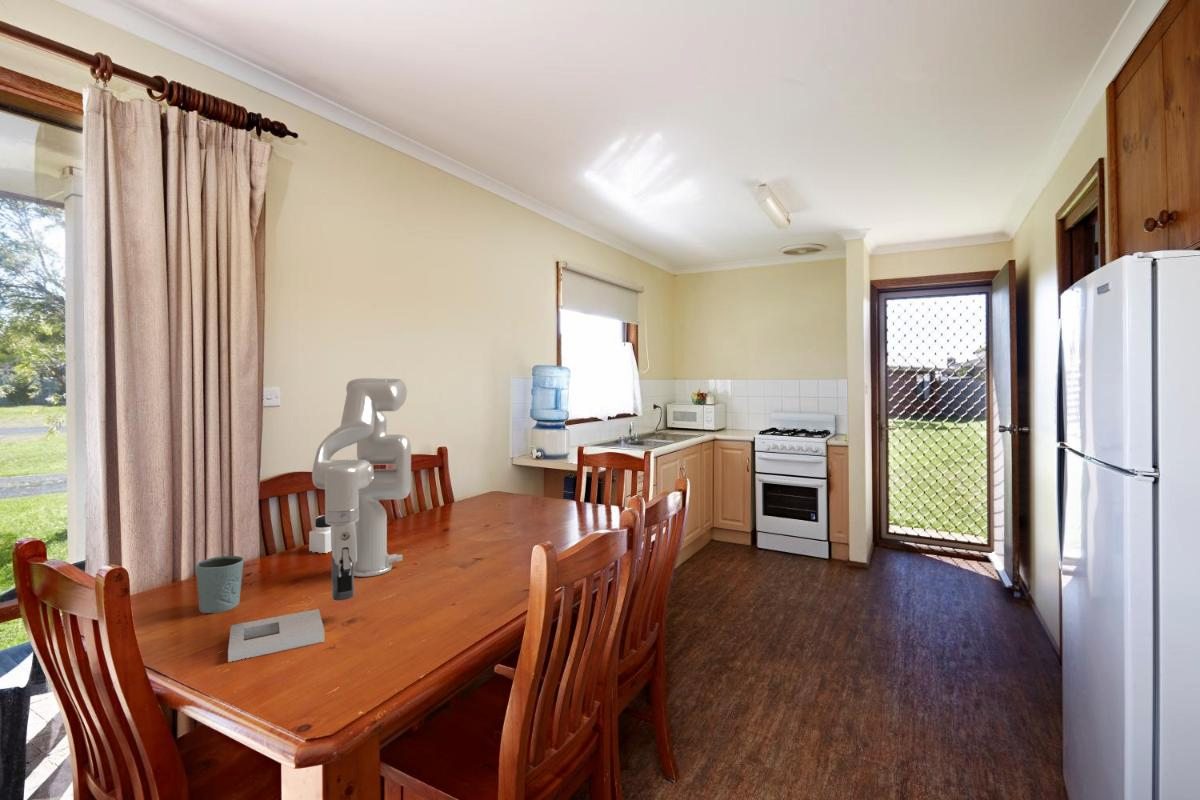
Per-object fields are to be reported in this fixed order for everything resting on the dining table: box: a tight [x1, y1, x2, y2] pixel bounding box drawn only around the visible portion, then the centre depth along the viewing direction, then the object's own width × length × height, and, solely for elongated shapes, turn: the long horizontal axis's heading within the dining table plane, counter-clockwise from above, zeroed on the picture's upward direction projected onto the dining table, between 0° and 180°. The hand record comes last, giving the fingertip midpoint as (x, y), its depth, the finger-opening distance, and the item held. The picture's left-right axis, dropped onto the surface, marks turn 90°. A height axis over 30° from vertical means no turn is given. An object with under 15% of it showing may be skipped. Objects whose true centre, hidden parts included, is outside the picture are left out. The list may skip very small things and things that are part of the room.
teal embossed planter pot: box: [195, 555, 245, 614], centre depth 141 cm, size 10×10×12 cm
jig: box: [227, 608, 325, 663], centre depth 124 cm, size 18×14×2 cm
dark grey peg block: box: [331, 556, 355, 601], centre depth 135 cm, size 5×5×10 cm
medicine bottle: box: [308, 515, 332, 554], centre depth 190 cm, size 7×7×12 cm
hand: (343, 586), depth 136 cm, fingers closed on dark grey peg block, 5 cm apart
